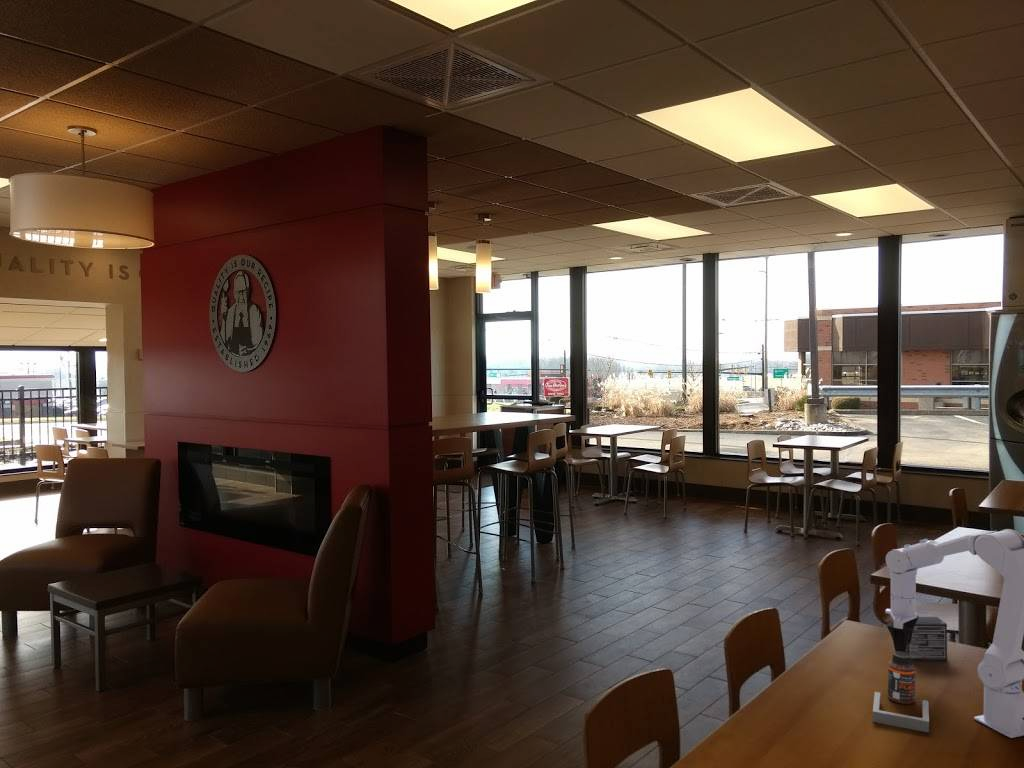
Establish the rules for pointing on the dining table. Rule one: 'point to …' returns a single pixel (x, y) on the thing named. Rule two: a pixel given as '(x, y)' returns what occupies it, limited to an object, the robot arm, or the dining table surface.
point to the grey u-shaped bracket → (901, 717)
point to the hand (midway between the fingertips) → (903, 647)
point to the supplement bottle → (901, 678)
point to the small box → (928, 640)
